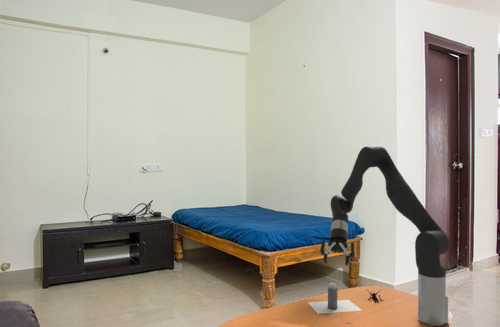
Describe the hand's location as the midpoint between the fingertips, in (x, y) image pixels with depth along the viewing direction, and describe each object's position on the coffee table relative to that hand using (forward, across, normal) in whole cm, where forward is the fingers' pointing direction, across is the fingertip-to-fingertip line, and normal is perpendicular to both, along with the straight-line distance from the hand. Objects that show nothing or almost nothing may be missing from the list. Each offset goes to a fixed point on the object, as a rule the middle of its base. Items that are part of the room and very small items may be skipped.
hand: (336, 264), depth 162 cm
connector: (+18, 0, +2) cm, 18 cm away
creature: (+9, +16, +13) cm, 23 cm away
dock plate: (+18, 0, +4) cm, 19 cm away
